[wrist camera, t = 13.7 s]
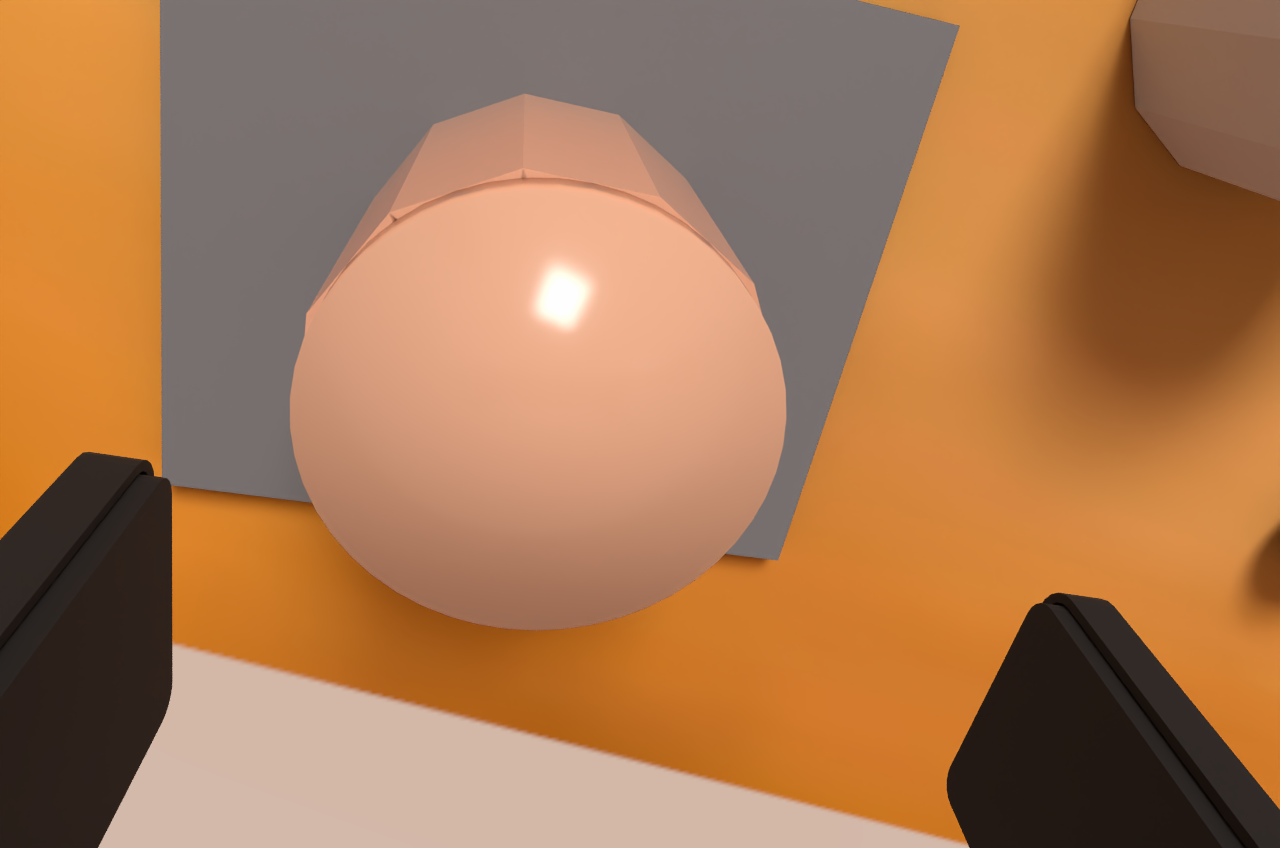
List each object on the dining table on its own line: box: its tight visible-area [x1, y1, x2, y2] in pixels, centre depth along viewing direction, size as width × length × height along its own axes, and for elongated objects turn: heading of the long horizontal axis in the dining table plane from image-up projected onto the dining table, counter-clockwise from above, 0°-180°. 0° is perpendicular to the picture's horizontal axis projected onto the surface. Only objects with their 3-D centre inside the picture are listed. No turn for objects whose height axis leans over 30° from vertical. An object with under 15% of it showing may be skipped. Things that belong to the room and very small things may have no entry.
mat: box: [160, 0, 959, 560], centre depth 22 cm, size 14×16×1 cm
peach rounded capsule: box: [290, 94, 786, 630], centre depth 18 cm, size 8×8×8 cm
